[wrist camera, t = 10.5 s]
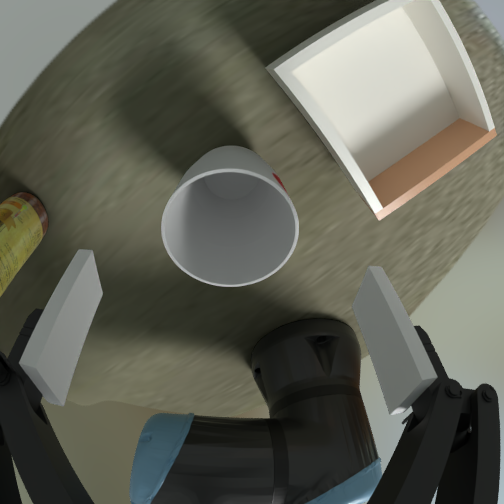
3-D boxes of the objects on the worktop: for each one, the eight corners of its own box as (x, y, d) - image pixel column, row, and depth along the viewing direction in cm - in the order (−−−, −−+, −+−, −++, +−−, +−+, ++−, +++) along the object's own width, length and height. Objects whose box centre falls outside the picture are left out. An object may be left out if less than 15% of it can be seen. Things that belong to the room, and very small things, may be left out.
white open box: (444, 111, 23) (496, 135, 17) (346, 179, 27) (378, 220, 21) (379, -4, 17) (427, -18, 11) (261, 67, 21) (273, 69, 15)
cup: (270, 218, 29) (285, 290, 21) (183, 212, 28) (164, 282, 20) (284, 133, 25) (311, 176, 16) (186, 125, 24) (159, 164, 16)
